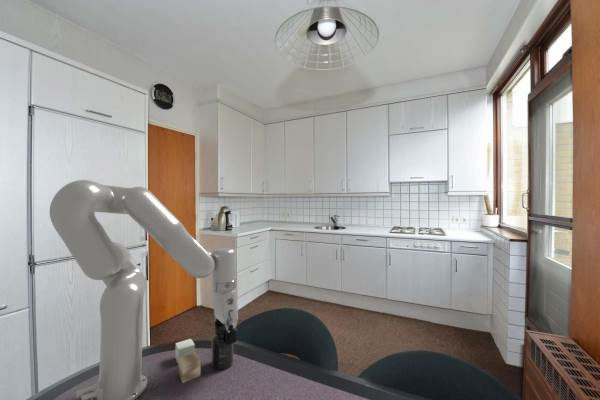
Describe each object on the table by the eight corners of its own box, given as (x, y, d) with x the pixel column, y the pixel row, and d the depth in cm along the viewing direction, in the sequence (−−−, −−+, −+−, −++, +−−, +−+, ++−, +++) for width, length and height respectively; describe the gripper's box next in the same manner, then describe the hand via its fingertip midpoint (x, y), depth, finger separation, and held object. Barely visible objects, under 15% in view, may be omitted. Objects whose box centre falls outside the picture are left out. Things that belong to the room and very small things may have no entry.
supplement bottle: (236, 358, 83) (237, 323, 84) (227, 371, 76) (228, 332, 77) (217, 357, 84) (218, 321, 85) (207, 369, 77) (208, 331, 78)
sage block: (178, 365, 80) (178, 349, 80) (175, 358, 84) (175, 343, 84) (194, 359, 83) (194, 344, 83) (190, 352, 87) (190, 338, 87)
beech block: (182, 383, 71) (183, 365, 72) (178, 374, 75) (179, 357, 75) (200, 376, 74) (200, 359, 75) (195, 368, 78) (196, 352, 79)
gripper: (246, 289, 77) (247, 344, 77) (225, 277, 91) (226, 324, 90) (223, 295, 72) (224, 353, 72) (204, 282, 86) (205, 331, 85)
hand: (225, 337), depth 81 cm, fingers open, 9 cm apart
